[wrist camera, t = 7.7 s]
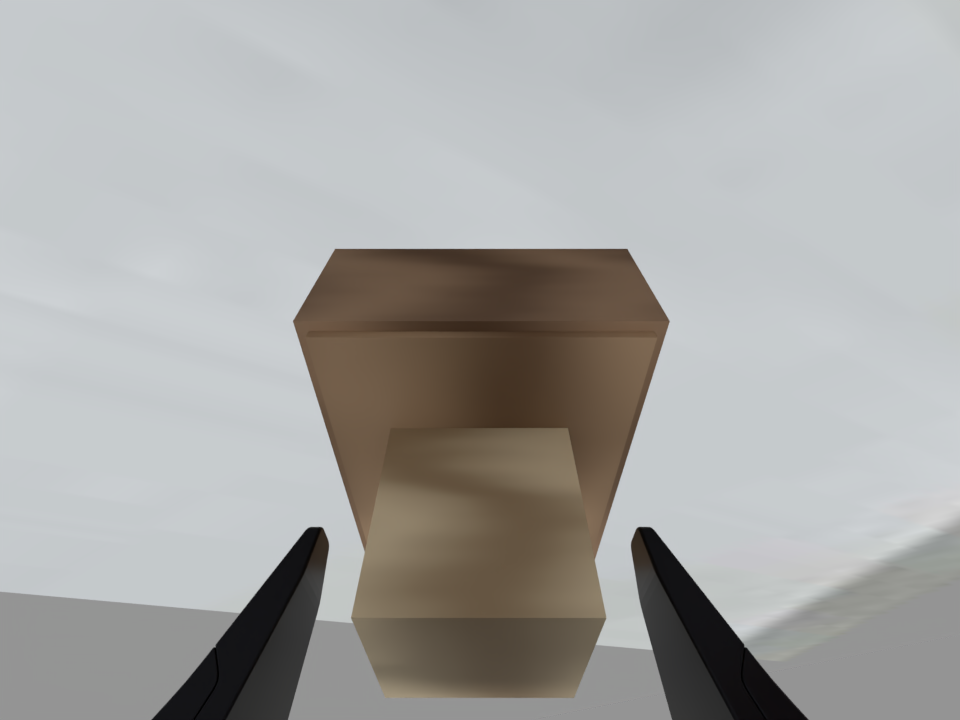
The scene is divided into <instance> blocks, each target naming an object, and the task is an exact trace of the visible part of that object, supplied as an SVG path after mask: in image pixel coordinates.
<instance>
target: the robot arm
mask: <svg viewBox="0 0 960 720" xmlns="http://www.w3.org/2000/svg"><path fill="white" fill-rule="evenodd" d="M328 552H329V541H328V538H327V536H326V533H325V531H324V529H323V528H322V527H309V528H307V529H306V530H305V531H304V533H303V534H302V535H301V537H300V538H299V539H298V540H297V542H296V543H295V544H294V545H293V547H292V548H291V549H290V551H289V552H288V553H287V554H286V556H285V557H284V558H283V559H282V561H281V562H280V563H279V565H278V566H277V567H276V568H275V570H274V571H273V572H272V573H271V575H270V576H269V577H268V579H267V580H266V581H265V582H264V584H263V585H262V586H261V587H260V589H259V590H258V591H257V593H256V594H255V595H254V596H253V598H252V599H251V600H250V601H249V603H248V604H247V605H246V607H245V608H244V609H243V610H242V612H241V613H240V614H239V615H238V617H237V618H236V619H235V620H234V622H233V623H232V624H231V626H230V627H229V628H228V629H227V631H226V632H225V633H224V634H223V636H222V637H221V638H220V640H219V641H218V642H217V643H216V645H215V647H213V648H212V650H211V651H210V652H209V653H208V655H207V656H206V657H205V659H204V660H203V661H202V662H201V663H200V665H199V666H198V667H197V668H196V670H195V671H194V672H193V673H192V674H191V676H190V677H189V678H188V679H187V681H186V682H185V683H184V684H183V685H182V686H181V687H180V688H179V690H178V691H177V692H176V693H175V694H174V695H173V696H172V697H171V699H170V700H169V701H168V702H167V703H166V704H165V705H164V706H163V707H162V708H161V710H160V711H159V712H158V713H157V714H156V715H155V716H154V717H153V718H152V719H151V720H288V718H289V714H290V711H291V707H292V704H293V700H294V696H295V693H296V689H297V685H298V682H299V678H300V675H301V671H302V667H303V664H304V660H305V656H306V653H307V649H308V646H309V642H310V638H311V635H312V631H313V628H314V624H315V620H316V617H317V613H318V609H319V605H320V600H321V595H322V589H323V583H324V576H325V570H326V564H327V558H328ZM631 552H632V558H633V564H634V570H635V576H636V583H637V589H638V595H639V600H640V605H641V609H642V613H643V617H644V620H645V624H646V628H647V631H648V635H649V638H650V642H651V646H652V649H653V653H654V656H655V660H656V664H657V667H658V671H659V675H660V678H661V682H662V685H663V689H664V693H665V696H666V700H667V703H668V707H669V711H670V714H671V718H672V720H809V719H808V718H807V717H806V716H805V715H804V714H803V713H802V712H801V711H800V710H799V708H798V707H797V706H796V705H795V704H794V703H793V702H792V701H791V700H790V699H789V697H788V696H787V695H786V694H785V693H784V692H783V691H782V690H781V689H780V687H779V686H778V685H777V684H776V683H775V682H774V681H773V679H772V678H771V677H770V676H769V674H768V673H767V672H766V671H765V670H764V668H763V667H762V666H761V665H760V663H759V662H758V661H757V660H756V659H755V657H754V656H753V655H752V653H751V652H750V651H749V650H748V648H747V647H745V645H744V643H743V642H742V641H741V640H740V638H739V637H738V636H737V634H736V633H735V632H734V631H733V629H732V628H731V627H730V626H729V624H728V623H727V622H726V620H725V619H724V618H723V617H722V615H721V614H720V613H719V612H718V610H717V609H716V608H715V606H714V605H713V604H712V603H711V601H710V600H709V599H708V598H707V596H706V595H705V594H704V592H703V591H702V590H701V589H700V587H699V586H698V585H697V584H696V582H695V581H694V580H693V578H692V577H691V576H690V575H689V573H688V572H687V571H686V570H685V568H684V567H683V566H682V565H681V563H680V562H679V561H678V559H677V558H676V557H675V556H674V554H673V553H672V552H671V551H670V549H669V548H668V547H667V545H666V544H665V543H664V542H663V540H662V539H661V538H660V537H659V535H658V534H657V533H656V531H655V530H654V529H653V528H651V527H638V528H637V529H636V531H635V533H634V536H633V538H632V541H631Z"/></svg>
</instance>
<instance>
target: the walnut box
mask: <svg viewBox="0 0 960 720" xmlns="http://www.w3.org/2000/svg"><path fill="white" fill-rule="evenodd" d="M669 322H670V321H669V319H668V317H667V315H666V314H665V312H664V310H663V309H662V307H661V305H660V304H659V302H658V300H657V298H656V297H655V295H654V293H653V292H652V290H651V288H650V287H649V285H648V283H647V281H646V280H645V278H644V276H643V275H642V273H641V271H640V269H639V268H638V266H637V264H636V263H635V261H634V259H633V258H632V256H631V254H630V252H629V251H628V249H335V250H334V252H333V253H332V255H331V257H330V258H329V260H328V262H327V264H326V265H325V267H324V269H323V270H322V272H321V274H320V276H319V277H318V279H317V281H316V282H315V284H314V286H313V288H312V289H311V291H310V293H309V294H308V296H307V298H306V300H305V301H304V303H303V305H302V306H301V308H300V310H299V312H298V313H297V315H296V317H295V318H294V320H293V323H294V326H295V330H296V333H297V336H298V339H299V342H300V346H301V349H302V352H303V355H304V358H305V362H306V365H307V368H308V371H309V375H310V378H311V381H312V384H313V387H314V391H315V394H316V397H317V400H318V403H319V407H320V410H321V413H322V416H323V420H324V423H325V426H326V429H327V432H328V436H329V439H330V442H331V445H332V448H333V452H334V455H335V458H336V461H337V464H338V468H339V471H340V474H341V477H342V481H343V484H344V487H345V490H346V493H347V497H348V500H349V503H350V506H351V509H352V513H353V516H354V519H355V522H356V525H357V529H358V532H359V535H360V538H361V542H362V545H363V548H364V551H365V549H366V544H367V539H368V534H369V530H370V525H371V520H372V515H373V511H374V506H375V501H376V496H377V491H378V487H379V482H380V477H381V472H382V468H383V463H384V458H385V453H386V449H387V444H388V439H389V434H390V429H391V428H568V431H569V436H570V441H571V446H572V450H573V455H574V460H575V465H576V470H577V475H578V480H579V485H580V490H581V495H582V500H583V505H584V509H585V514H586V519H587V524H588V529H589V534H590V539H591V544H592V549H593V554H594V559H595V558H596V555H597V551H598V548H599V545H600V542H601V539H602V536H603V532H604V529H605V526H606V523H607V520H608V516H609V513H610V510H611V507H612V504H613V501H614V497H615V494H616V491H617V488H618V485H619V481H620V478H621V475H622V472H623V469H624V466H625V462H626V459H627V456H628V453H629V450H630V446H631V443H632V440H633V437H634V434H635V431H636V427H637V424H638V421H639V418H640V415H641V411H642V408H643V405H644V402H645V399H646V396H647V392H648V389H649V386H650V383H651V380H652V376H653V373H654V370H655V367H656V364H657V361H658V357H659V354H660V351H661V348H662V345H663V341H664V338H665V335H666V332H667V329H668V326H669Z"/></svg>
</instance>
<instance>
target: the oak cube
mask: <svg viewBox="0 0 960 720" xmlns="http://www.w3.org/2000/svg"><path fill="white" fill-rule="evenodd" d="M351 619H352V622H353V624H354V626H355V629H356V631H357V633H358V636H359V638H360V640H361V642H362V645H363V647H364V649H365V652H366V654H367V656H368V659H369V661H370V663H371V666H372V668H373V670H374V673H375V675H376V677H377V680H378V682H379V684H380V687H381V689H382V691H383V694H384V696H385V698H574V697H575V694H576V692H577V689H578V687H579V684H580V682H581V680H582V677H583V675H584V672H585V670H586V667H587V665H588V662H589V660H590V657H591V655H592V653H593V650H594V648H595V645H596V643H597V640H598V638H599V635H600V633H601V630H602V628H603V625H604V623H605V621H606V613H605V608H604V603H603V598H602V593H601V588H600V583H599V578H598V573H597V569H596V564H595V559H594V554H593V549H592V544H591V539H590V534H589V529H588V524H587V519H586V514H585V509H584V505H583V500H582V495H581V490H580V485H579V480H578V475H577V470H576V465H575V460H574V455H573V450H572V446H571V441H570V436H569V431H568V428H391V429H390V434H389V439H388V444H387V449H386V453H385V458H384V463H383V468H382V472H381V477H380V482H379V487H378V491H377V496H376V501H375V506H374V511H373V515H372V520H371V525H370V530H369V534H368V539H367V544H366V549H365V553H364V558H363V563H362V568H361V572H360V577H359V582H358V587H357V592H356V596H355V601H354V606H353V611H352V615H351Z"/></svg>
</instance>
